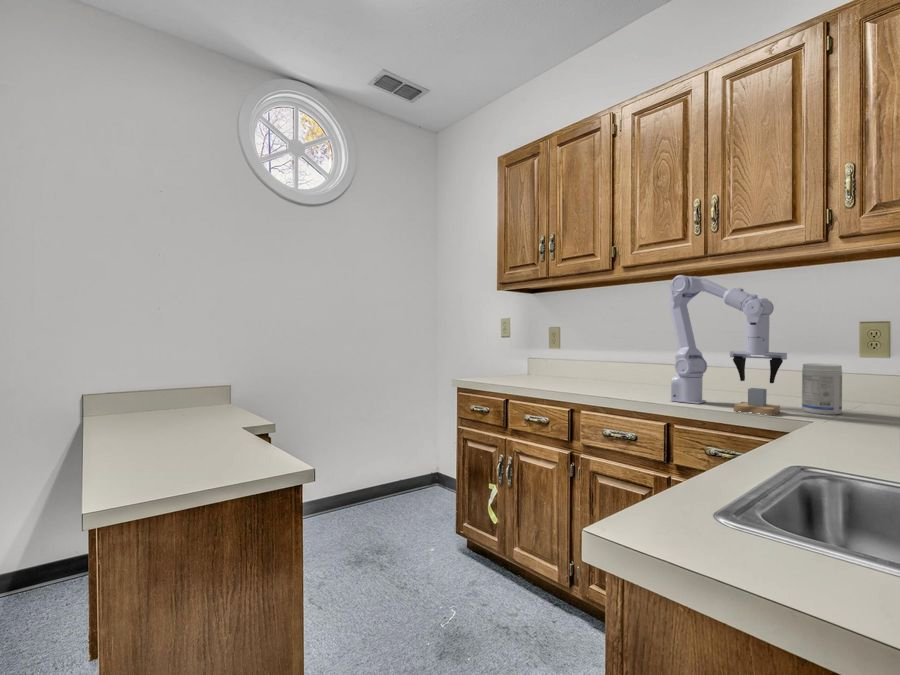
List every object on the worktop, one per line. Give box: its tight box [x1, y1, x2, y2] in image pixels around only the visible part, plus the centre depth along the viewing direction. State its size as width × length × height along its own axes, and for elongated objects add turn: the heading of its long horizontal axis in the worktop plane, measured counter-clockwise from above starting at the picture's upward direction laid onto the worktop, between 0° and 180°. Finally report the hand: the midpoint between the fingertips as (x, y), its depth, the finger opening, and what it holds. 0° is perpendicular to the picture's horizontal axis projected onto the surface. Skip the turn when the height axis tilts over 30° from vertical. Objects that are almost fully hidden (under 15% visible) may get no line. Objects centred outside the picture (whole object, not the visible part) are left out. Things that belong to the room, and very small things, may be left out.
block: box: [747, 387, 768, 407], centre depth 142 cm, size 4×4×5 cm
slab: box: [733, 401, 781, 416], centre depth 142 cm, size 10×10×2 cm
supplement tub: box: [801, 362, 843, 416], centre depth 141 cm, size 10×10×15 cm
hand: (756, 381), depth 142 cm, fingers open, 7 cm apart
